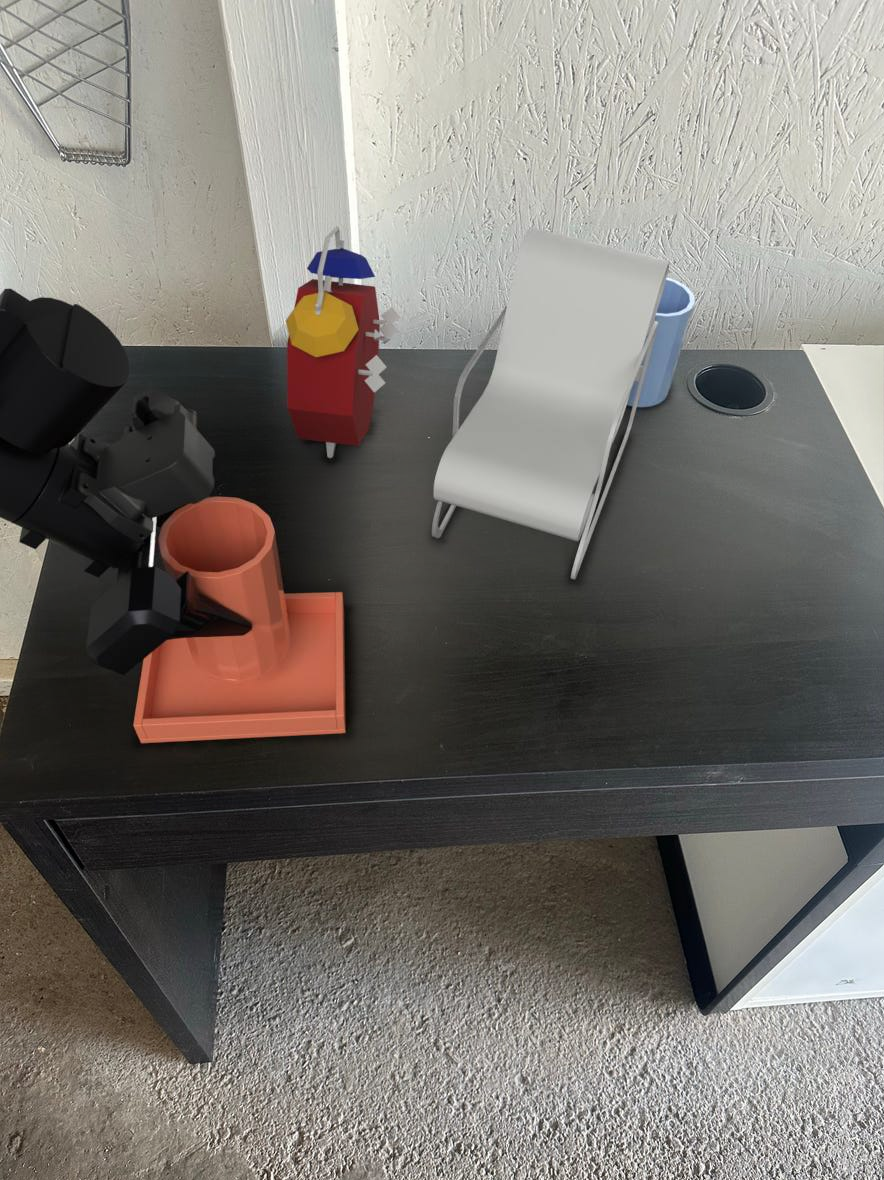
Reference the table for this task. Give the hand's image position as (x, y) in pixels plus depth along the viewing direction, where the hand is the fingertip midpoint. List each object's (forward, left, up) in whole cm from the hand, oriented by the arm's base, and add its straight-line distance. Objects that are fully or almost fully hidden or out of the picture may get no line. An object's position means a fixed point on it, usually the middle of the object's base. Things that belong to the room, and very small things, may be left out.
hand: (248, 587), depth 63 cm
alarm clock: (+24, +20, -10) cm, 33 cm away
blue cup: (+53, +7, -10) cm, 54 cm away
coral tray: (-1, +1, -10) cm, 10 cm away
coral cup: (-1, +1, -7) cm, 7 cm away
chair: (+33, +2, -10) cm, 34 cm away
